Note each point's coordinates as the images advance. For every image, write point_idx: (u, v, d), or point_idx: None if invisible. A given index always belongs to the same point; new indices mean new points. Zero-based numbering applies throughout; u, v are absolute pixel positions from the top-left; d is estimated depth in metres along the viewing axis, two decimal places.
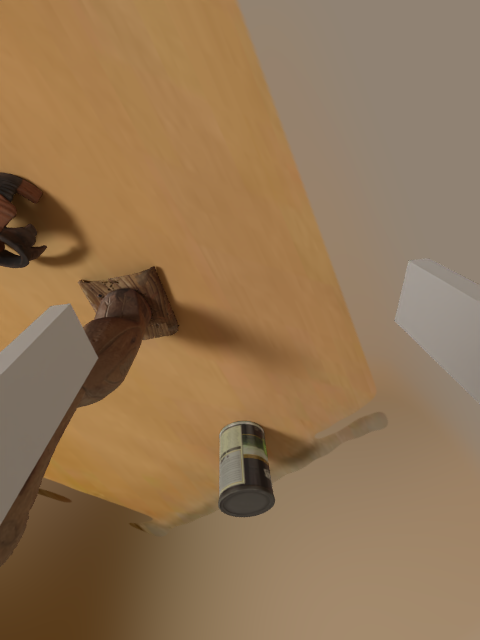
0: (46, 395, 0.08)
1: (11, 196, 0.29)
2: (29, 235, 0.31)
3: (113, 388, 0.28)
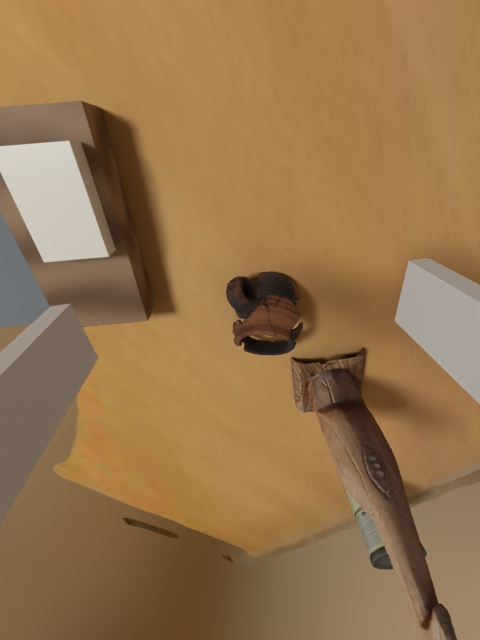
0: (46, 395, 0.08)
1: (295, 300, 0.31)
2: (299, 332, 0.33)
3: None
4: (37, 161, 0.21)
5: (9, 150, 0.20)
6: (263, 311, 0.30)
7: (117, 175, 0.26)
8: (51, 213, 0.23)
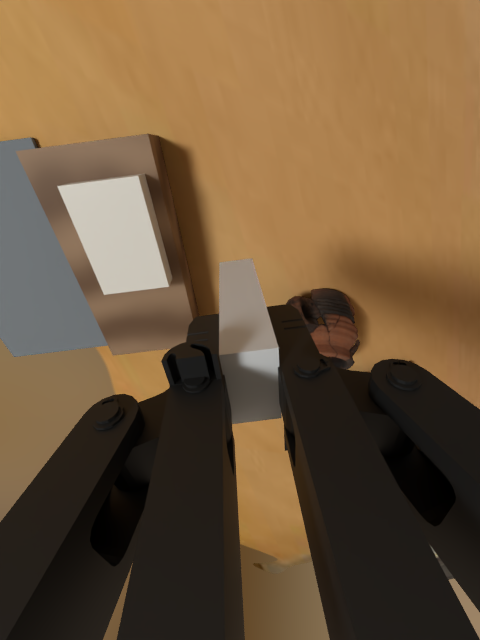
0: None
1: (353, 318, 0.30)
2: (356, 350, 0.32)
3: None
4: (105, 197, 0.20)
5: (77, 188, 0.20)
6: (323, 332, 0.29)
7: (172, 202, 0.26)
8: (114, 247, 0.22)
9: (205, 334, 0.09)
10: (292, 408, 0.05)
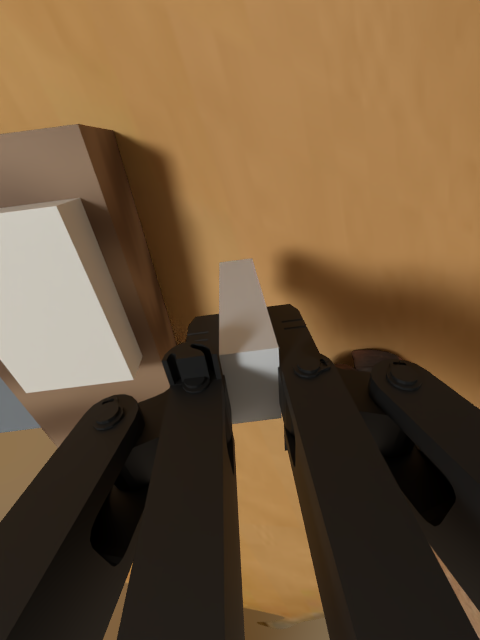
0: None
1: None
2: None
3: None
4: None
5: None
6: None
7: (141, 237, 0.16)
8: (31, 326, 0.13)
9: (205, 334, 0.09)
10: (292, 408, 0.05)
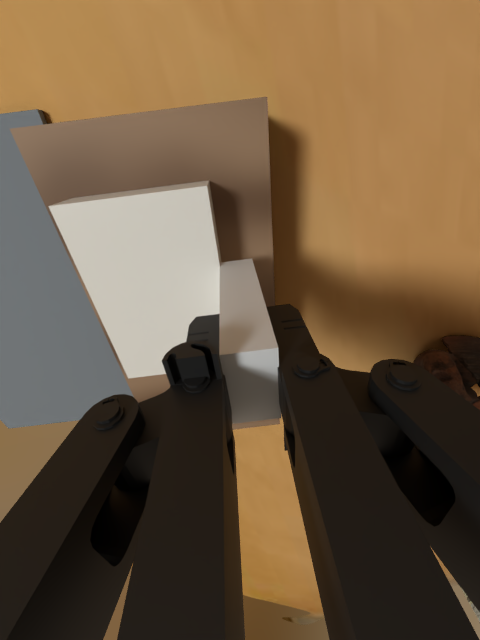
0: None
1: None
2: None
3: None
4: (139, 226, 0.11)
5: (88, 210, 0.10)
6: None
7: None
8: (151, 309, 0.13)
9: (205, 334, 0.09)
10: (292, 408, 0.05)
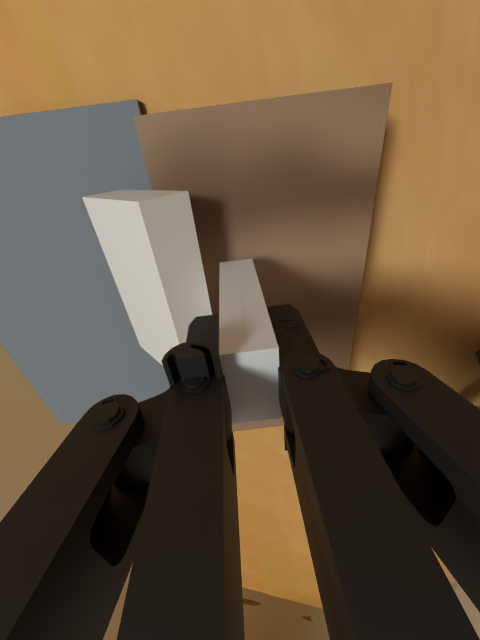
0: None
1: None
2: None
3: None
4: (116, 228, 0.11)
5: (94, 205, 0.12)
6: None
7: None
8: (137, 302, 0.14)
9: (205, 334, 0.09)
10: (292, 408, 0.05)
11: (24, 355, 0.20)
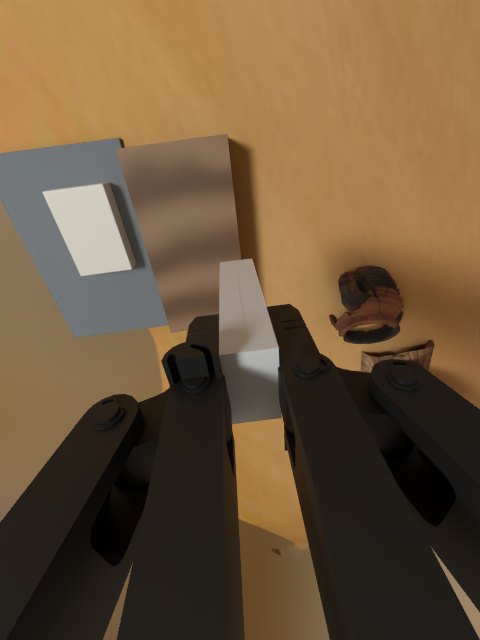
0: None
1: (398, 290, 0.34)
2: None
3: None
4: None
5: None
6: (374, 302, 0.32)
7: None
8: None
9: (205, 334, 0.09)
10: (292, 408, 0.05)
11: (54, 284, 0.34)
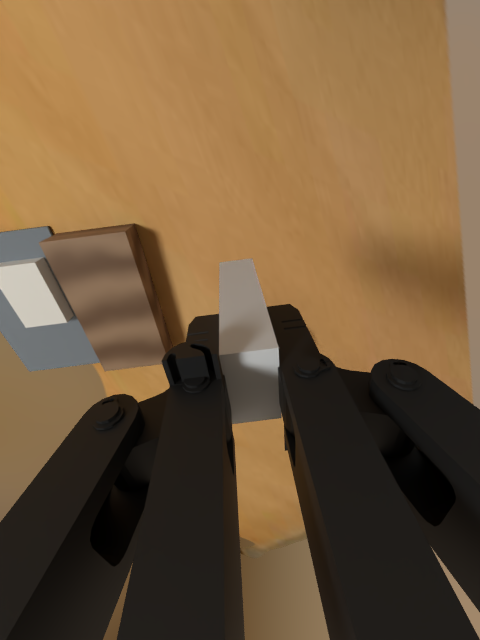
0: None
1: None
2: None
3: None
4: None
5: None
6: None
7: (145, 264, 0.36)
8: None
9: (205, 334, 0.09)
10: (292, 408, 0.05)
11: (7, 331, 0.41)
